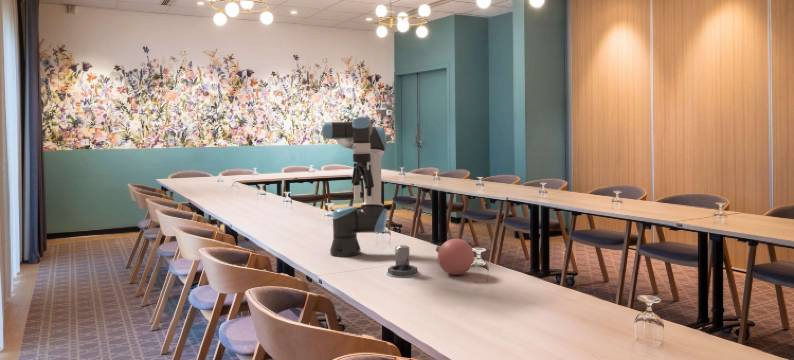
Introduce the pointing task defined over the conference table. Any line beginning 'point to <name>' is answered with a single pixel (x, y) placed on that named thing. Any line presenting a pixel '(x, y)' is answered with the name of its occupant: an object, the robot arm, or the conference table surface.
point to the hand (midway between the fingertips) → (362, 201)
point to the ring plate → (402, 272)
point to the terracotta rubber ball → (455, 256)
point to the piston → (402, 258)
